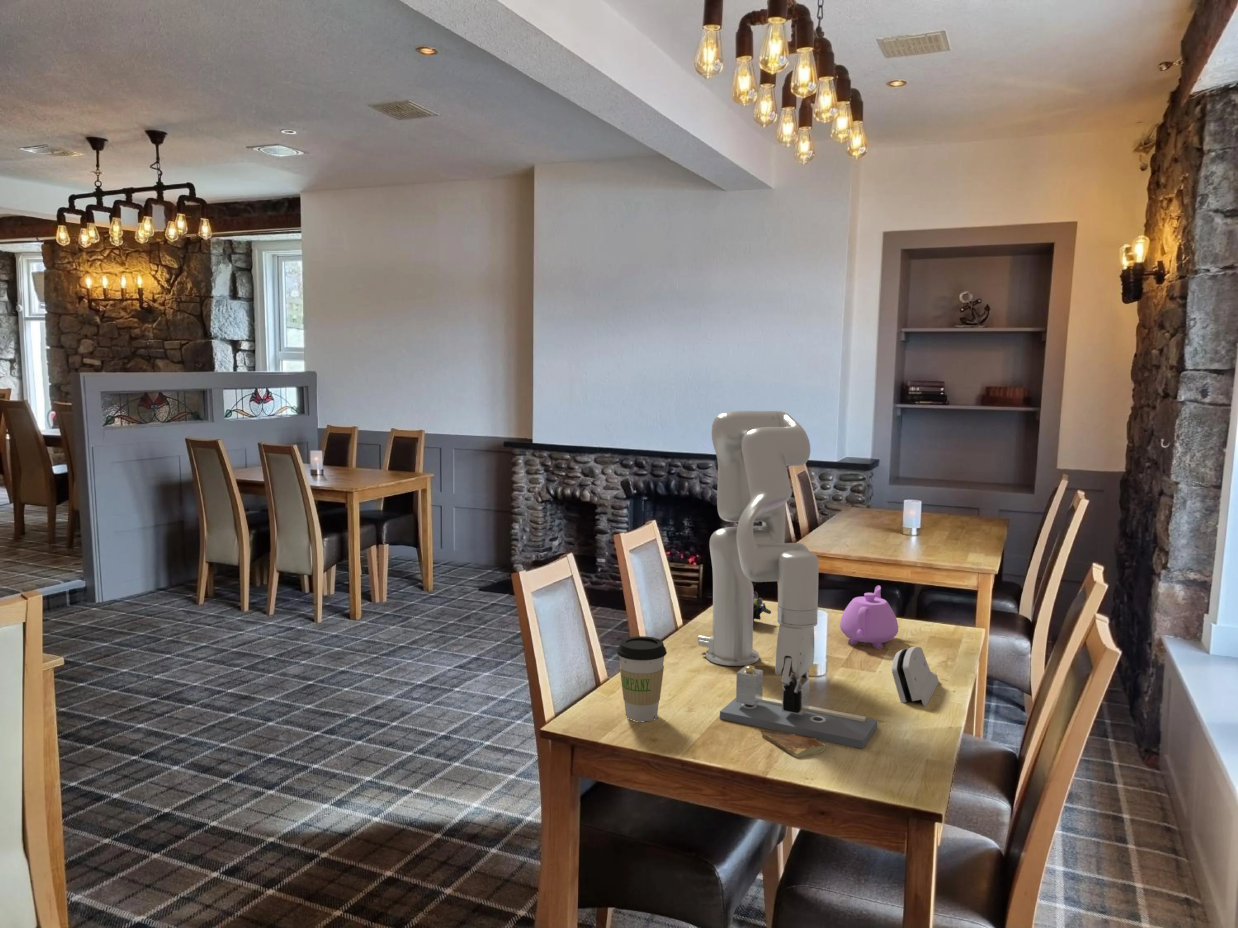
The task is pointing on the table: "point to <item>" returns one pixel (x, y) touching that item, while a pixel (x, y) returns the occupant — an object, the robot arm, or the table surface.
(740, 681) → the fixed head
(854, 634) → the teapot
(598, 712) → the table surface
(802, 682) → the block
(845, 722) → the hole plate
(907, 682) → the grey layered slab
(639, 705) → the coffee cup
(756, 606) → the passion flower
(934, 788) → the table surface
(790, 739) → the shard
